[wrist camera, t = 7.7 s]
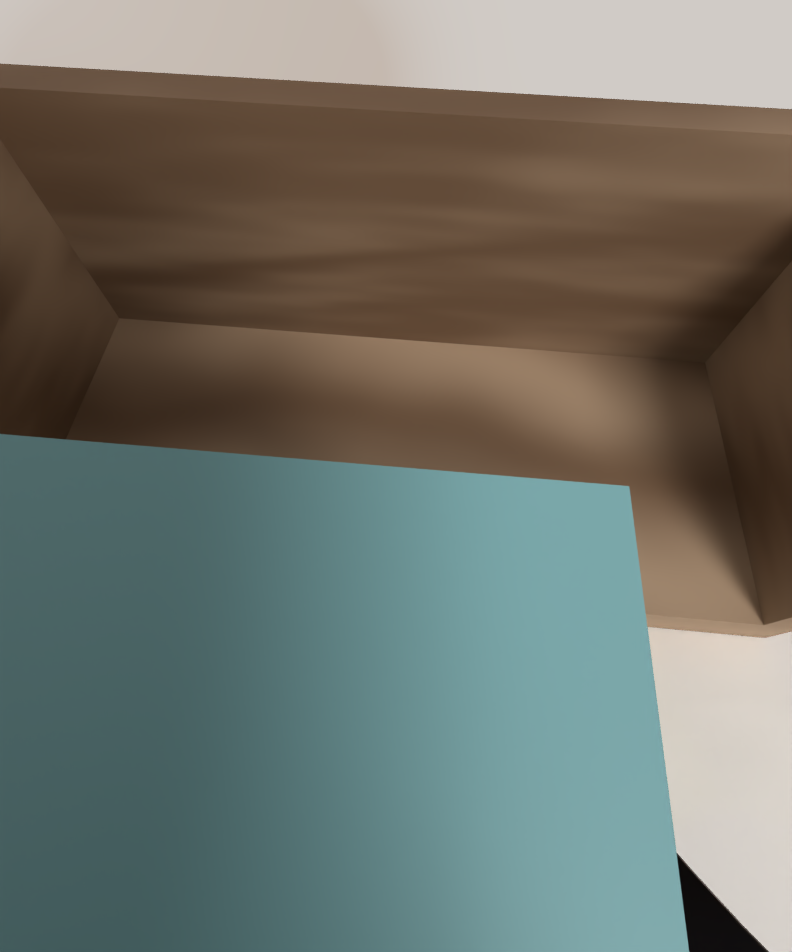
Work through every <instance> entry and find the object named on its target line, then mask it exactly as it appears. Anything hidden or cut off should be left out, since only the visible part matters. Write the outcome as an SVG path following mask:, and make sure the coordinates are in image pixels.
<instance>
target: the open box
mask: <svg viewBox="0 0 792 952" xmlns="http://www.w3.org/2000/svg"><path fill="white" fill-rule="evenodd" d="M0 434H6V435H18V436H30V437H42V438H54V439H66V440H78V441H90V442H102V443H114V444H126V445H138V446H151V447H163V448H175V449H187V450H199V451H211V452H223V453H235V454H247V455H259V456H271V457H283V458H295V459H307V460H319V461H331V462H343V463H356V464H368V465H380V466H392V467H404V468H416V469H428V470H440V471H452V472H464V473H476V474H488V475H500V476H512V477H524V478H536V479H548V480H561V481H573V482H585V483H597V484H609V485H621V486H629V488H630V496H631V504H632V512H633V519H634V527H635V535H636V543H637V550H638V558H639V566H640V574H641V581H642V589H643V597H644V605H645V613H646V620H647V627H657V628H667V629H678V630H688V631H699V632H710V633H720V634H731V635H741V636H752V637H763V638H767V637H771V636H775V635H779V634H783V633H787V632H791V631H792V109H776V108H759V107H741V106H740V107H739V106H724V105H707V104H689V103H672V102H671V103H670V102H654V101H637V100H619V99H603V98H585V97H568V96H550V95H533V94H516V93H497V92H481V91H463V90H446V89H445V90H444V89H428V88H411V87H394V86H377V85H360V84H343V83H325V82H307V81H290V80H271V79H256V78H238V77H220V76H203V75H186V74H168V73H152V72H134V71H117V70H100V69H83V68H65V67H48V66H30V65H11V64H0Z"/></svg>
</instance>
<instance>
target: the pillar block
mask: <svg viewBox="0 0 792 952" xmlns="http://www.w3.org/2000/svg"><path fill="white" fill-rule="evenodd" d="M0 952H689V947H688V939H687V931H686V923H685V915H684V908H683V900H682V892H681V884H680V877H679V869H678V861H677V853H676V846H675V838H674V830H673V822H672V815H671V807H670V799H669V791H668V783H667V776H666V768H665V760H664V752H663V745H662V737H661V729H660V721H659V714H658V706H657V698H656V690H655V682H654V675H653V667H652V659H651V651H650V644H649V636H648V628H647V620H646V613H645V605H644V597H643V589H642V581H641V574H640V566H639V558H638V550H637V543H636V535H635V527H634V519H633V512H632V504H631V496H630V488H629V486H621V485H609V484H597V483H585V482H573V481H561V480H548V479H536V478H524V477H512V476H500V475H488V474H476V473H464V472H452V471H440V470H428V469H416V468H404V467H392V466H380V465H368V464H356V463H343V462H331V461H319V460H307V459H295V458H283V457H271V456H259V455H247V454H235V453H223V452H211V451H199V450H187V449H175V448H163V447H151V446H138V445H126V444H114V443H102V442H90V441H78V440H66V439H54V438H42V437H30V436H18V435H6V434H0Z"/></svg>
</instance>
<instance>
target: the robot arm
mask: <svg viewBox="0 0 792 952" xmlns="http://www.w3.org/2000/svg"><path fill="white" fill-rule="evenodd" d="M677 861H678V869H679V877H680V884H681V892H682V900H683V908H684V915H685V923H686V931H687V939H688V947H689V952H769V951H768V950H767V949H766V948H765V947H764V946H763V945H762V944H761V943H760V942H759V941H758V940H757V939H756V938H755V937H754V936H753V935H752V934H751V933H750V932H749V931H748V930H747V929H746V928H745V927H744V926H743V925H742V924H741V923H740V922H739V921H738V920H737V919H736V917H735V916H734V915H733V914H732V913H731V912H730V911H729V910H728V909H727V908H726V907H725V906H724V904H723V903H722V902H721V901H720V900H719V899H718V898H717V897H716V896H715V895H714V894H713V893H712V891H711V890H710V889H709V888H708V887H707V886H706V885H705V884H704V883H703V882H702V881H701V879H700V878H699V877H698V876H697V875H696V874H695V873H694V872H693V871H692V869H691V868H690V867H689V866H688V865H687V864H686V863H685V862H684V860H683V859H682V858H681V857H680V856H679V855H678V854H677Z"/></svg>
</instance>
